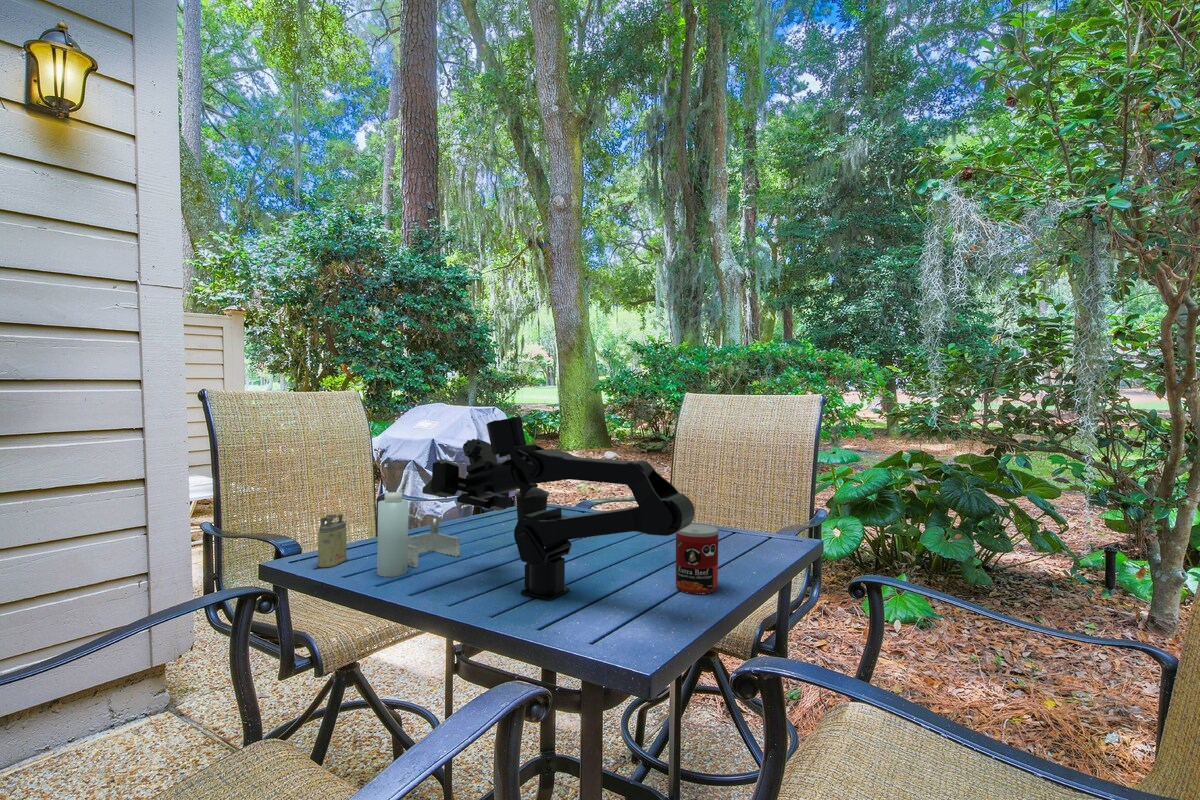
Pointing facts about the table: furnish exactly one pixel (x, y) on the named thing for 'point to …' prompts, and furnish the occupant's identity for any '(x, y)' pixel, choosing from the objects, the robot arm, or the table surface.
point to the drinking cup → (531, 503)
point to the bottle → (392, 535)
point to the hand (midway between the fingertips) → (440, 495)
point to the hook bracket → (431, 544)
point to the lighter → (332, 541)
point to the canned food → (697, 559)
